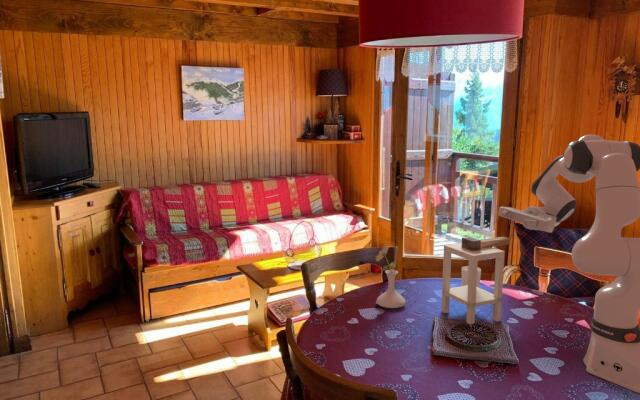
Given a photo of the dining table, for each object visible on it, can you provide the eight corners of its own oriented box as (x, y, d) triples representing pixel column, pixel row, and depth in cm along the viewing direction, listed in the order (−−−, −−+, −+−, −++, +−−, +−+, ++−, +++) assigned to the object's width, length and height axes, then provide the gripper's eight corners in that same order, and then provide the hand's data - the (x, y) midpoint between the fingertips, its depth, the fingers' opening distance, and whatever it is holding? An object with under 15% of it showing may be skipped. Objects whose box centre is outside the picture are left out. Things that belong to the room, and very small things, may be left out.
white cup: (482, 294, 206) (483, 271, 205) (463, 294, 206) (464, 271, 205) (476, 288, 214) (477, 265, 212) (458, 288, 214) (459, 265, 213)
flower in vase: (391, 298, 203) (393, 238, 198) (411, 306, 193) (413, 244, 189) (367, 305, 195) (367, 243, 191) (386, 314, 186) (387, 249, 182)
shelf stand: (500, 320, 180) (504, 251, 176) (469, 327, 174) (473, 255, 170) (470, 305, 194) (473, 241, 190) (441, 311, 189) (443, 245, 184)
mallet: (512, 245, 183) (512, 236, 183) (472, 250, 176) (473, 241, 175) (500, 241, 189) (500, 232, 188) (461, 247, 181) (461, 237, 181)
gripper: (511, 202, 199) (492, 202, 190) (560, 217, 183) (542, 218, 174) (507, 218, 200) (488, 218, 191) (556, 234, 184) (537, 235, 176)
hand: (514, 218), depth 183 cm, fingers open, 8 cm apart
